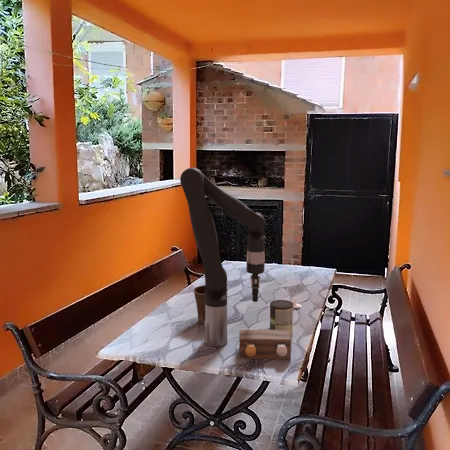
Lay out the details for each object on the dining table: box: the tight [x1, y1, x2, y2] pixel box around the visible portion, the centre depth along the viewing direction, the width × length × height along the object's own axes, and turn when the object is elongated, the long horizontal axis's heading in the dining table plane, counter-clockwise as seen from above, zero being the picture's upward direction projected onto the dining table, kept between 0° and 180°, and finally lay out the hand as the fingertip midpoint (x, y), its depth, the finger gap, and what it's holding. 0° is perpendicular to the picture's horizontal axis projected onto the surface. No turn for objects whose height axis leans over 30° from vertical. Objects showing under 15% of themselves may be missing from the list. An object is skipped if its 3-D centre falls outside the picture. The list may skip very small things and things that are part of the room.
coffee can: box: [269, 299, 294, 337], centre depth 214 cm, size 10×10×14 cm
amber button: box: [245, 342, 256, 356], centre depth 188 cm, size 6×4×4 cm, turn 0°
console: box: [238, 329, 292, 360], centre depth 194 cm, size 10×20×8 cm, turn 90°
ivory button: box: [276, 342, 287, 356], centre depth 188 cm, size 6×4×4 cm, turn 0°
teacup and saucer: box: [290, 298, 302, 310], centre depth 252 cm, size 9×8×4 cm
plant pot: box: [192, 284, 229, 326], centre depth 229 cm, size 16×16×16 cm
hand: (254, 297), depth 204 cm, fingers open, 8 cm apart
